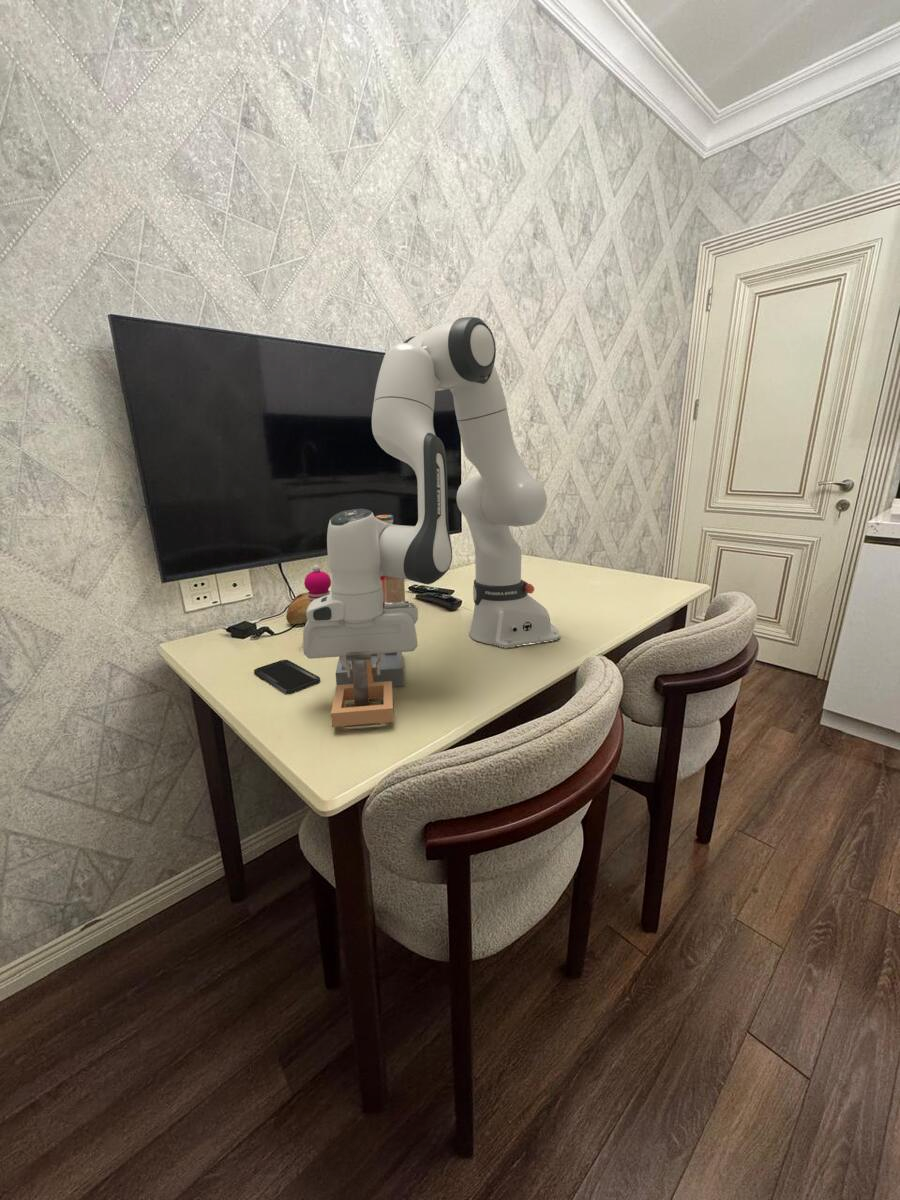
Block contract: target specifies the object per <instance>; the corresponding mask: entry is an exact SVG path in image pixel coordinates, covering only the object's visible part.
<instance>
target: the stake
mask: <svg viewBox="0 0 900 1200" xmlns="http://www.w3.org/2000/svg"><path fill="white" fill-rule="evenodd" d="M368 659H371V654H370V651H364V652H348V653H346V661H352V673H353V685H354V697H355V700H354V703H346V704H345V706H346V707H345V708H347V707H360V706H372V705H381V701H370V699H369V695H368V681H367V668H366V660H368ZM380 724H381V723H372V724H360V725H349V726H343V727H344V728H347V727H358V726H371V725H380Z"/></svg>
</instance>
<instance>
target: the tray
mask: <svg viewBox="0 0 900 1200" xmlns="http://www.w3.org/2000/svg"><path fill="white" fill-rule="evenodd" d="M371 657H372V664H375V663H376V662H377V661H378V659H377V654H371ZM349 663H350V664H351V665H352V661H349ZM335 681H336V686H337V685H347V684H353V677H349V678H348V675H347V670H346V669H345V667H344V666H343V665H342V664H341V662H340V657H338V661H337V665H336V669H335ZM385 681H392V688H393V687H404V685H405V684H404V683H405V682H404V665H403V652H397V653H385V659H384V661H383V663H382V665H381V666H380V675H375V676H373V682H385Z"/></svg>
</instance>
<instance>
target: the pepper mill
mask: <svg viewBox="0 0 900 1200" xmlns="http://www.w3.org/2000/svg"><path fill="white" fill-rule="evenodd" d="M311 569H312V571H311V572H309V573H308V574H307V575H306V576H305V578H304V587H305V589H306V590H307V591H308V599H310V601H311V602H312V601H313V600H315V599H318V598H320V597H323V596H326V595H329V594H331V593H330V592H331V590H329V589H330V588H331V585H332V579H331V576H330V575H329V574H328V573H326V572H325V571H322V570H321V566H320V565H318V564H314V565H313V566H312V568H311Z"/></svg>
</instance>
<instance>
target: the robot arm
mask: <svg viewBox="0 0 900 1200" xmlns="http://www.w3.org/2000/svg"><path fill="white" fill-rule="evenodd" d="M496 345H497V344H496V340H495V337H494V335H493V332H492V331H491V328H490V327H489V326H488V325H487V323H485V321H484V320H483V319H481V318H479V317H475V316H466V317H465V316H464V317H458V318H457V319H456V320H453V321H447V322H444V323H440V324H436V325H434V326H432V327H430V328H429V329H427V330H425V331H423V332H421V333H419V334H417V335H415V336H411V337H409V338H407V339H406V340H404V341H403V342H401V343H397V344H394V345H392V346H391V347H390V348H388V349H387V350H386V352H385V354H384V356H383V359H382V362H381V365H380V369H379V373H378V376H377V380H376V385H375V390H374V399H373V403H372V404H373V405H372V412H371V430H372V431H371V432H372V435H373V438H374V440H375V441H376V443H377V445H378V446H379V447H380V448H381V450H383V451H384V452H385V453H386V454H388V455H390V456H392V457H393V458H395V459H396V460H399V461H401V462H403V463H405V464H407V465H408V466H410V467H411V468H412V470H413V471H414V473H415V476H416V482H417V484H416V485H417V522H416V525H401V524H394V523H392V524H389V523H386V522H383V521H381V520H379V519H377V518H376V516H375V515H374V513H373V512H372V510H369V509H366V508H365V509H364V508H354V509H349V510H348V509H346V510H343V511H340V512H338V513H336V514H334V515H333V516H332V517H331V518H330V519H329V522H328V525H327V533H326V548H327V561H328V562H327V563H328V568H329V569H330V573H331V577H332V579H331V586H330V592H331V593H329V595H326V596H323V597H320V598H318V599H315V600H313V601H312V602H311V603H310V604H309V606H308V608H307V611H306V616H307V620H308V621H307V622H306V623H305V626H304V628H303V631H302V632H303V633H302V651H303V654H304V655H305V657H306V658H307V659H311V660H313V659H325V658H336V657H338V658H339V657H340V662H341V664H342V665H343V666H344V667H345V669H346V670H347V675H348V678H349V677H353V673H352V665H351V664H350V663H349V661H346V653H348V652H364V651H370V654H377V659H378V661H377V662H376V663H375V664H372V676H375V675H380V666H381V665H382V663H383V661H384V659H385V653H397V652H402V653H410V652H414V651H416V649H417V648H418V637H417V630H416V625H415V624H416V623H417V621H418V620H419V612H418V611H419V610H418V607H417V606H416V605H415V604H414V603H411V602H410V601H409V600H405V601H401V602H383V588H382V582H381V579H380V577H381V576H383V575H385V576H389V577H395V578H402V579H404V580H409V581H412V582H415V583H419V584H424V585H432V584H434V583H435V582H437V581H439V580H440V579H441V578H442V577H443V576H444V575H445V574H446V573H448V570H449V569H450V567H451V565H452V560H453V547H452V541H451V536H450V531H449V530H450V528H449V506H448V505H449V502H448V501H449V500H448V499H449V497H448V493H449V491H448V468H447V456H446V450H445V445H444V442H443V441H442V440H441V438H440V437H438V436H437V435H436V432H435V428H434V411H435V401H436V392H439V391H445V390H449V391H450V392H451V394H452V396H453V405H454V412H455V416H456V417H455V418H456V422H457V428H458V430H459V431H458V432H459V435H460V439H461V443H462V449H463V453H464V455H465V458H466V459H467V460H468V461H469V462H470V463H471V464H472V465H473V466H474V467H475V468H476V470H477V472H478V473H479V475H477V476H473V477H470V478H467V479H466V480H464V481H463V482H462V483H461V484H460V485H459V486H458V490H457V492H456V505H457V507H458V509H459V511H460V513H462V515H463V517H464V518H465V520H466V522H467V524H468V528H469V531H470V535H471V538H472V542H473V547H474V554H475V555H474V557H475V560H474V561H475V579H474V580H473V587H472V590H473V591H472V593H473V595H472V596H473V598H472V599H473V603H474V609H473V616H472V622H471V625H470V628H469V632H468V635H469V637H470V638H471V639H472V640H474V641H477V642H479V643H483V644H487V645H492V644H494V645H493V646H496V645H497V646H496V647H498V646H500V647H499V648H501V647H502V649H508V648H507V647H511V648H514V647H513V646H517V645H523V644H529V643H537V642H544V641H551V640H557V639H560V638H559V636H560V630H559V629H558V628H557V627H556V626H555V625H554V624H553V623H551V618H550V614H549V612H548V609H547V608H546V607H544V606H543V605H542V604H541V603H540V602H539V601H537V600H536V599H534V598H533V597H532V596H530V595H531V594H533V593H534V592H535V589H536V588H535V586H534V585H532V584H531V583H528V582H527V581H525V580H524V579H522V555H523V554H522V549H521V547H520V545H519V543H518V542H517V541H516V539H514V536H513V534H512V532H511V528H510V527H514V528H515V527H525V526H531V525H534V524H536V523H537V522H539V521H540V520H541V519H542V517H543V516H544V515H545V512H546V509H547V505H548V504H547V503H548V497H547V493H546V490H545V488H544V487H543V485H542V484H541V483H540V482H538V481H537V480H536V479H535V478H534V477H533V476H532V475H531V474H530V472H529V471H528V469H527V467H526V466H525V464H524V463H523V460H522V459H521V456H520V454H519V452H518V449H517V446H516V444H515V440H514V438H513V437H514V436H513V431H512V426H511V423H510V416H509V412H508V407H507V402H506V396H505V392H504V390H503V386H502V385H503V384H502V382H501V378H500V376H499V373H498V370H497V368H496V366H495V361H496V355H497V354H496V353H497V348H496ZM557 641H558V640H557ZM503 647H504V648H503Z"/></svg>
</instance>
